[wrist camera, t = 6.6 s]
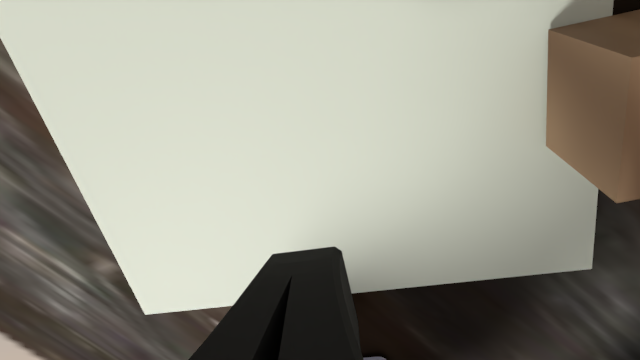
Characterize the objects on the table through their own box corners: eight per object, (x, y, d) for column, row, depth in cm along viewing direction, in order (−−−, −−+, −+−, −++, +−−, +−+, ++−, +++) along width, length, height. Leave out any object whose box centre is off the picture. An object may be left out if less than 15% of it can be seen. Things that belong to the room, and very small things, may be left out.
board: (581, 253, 19) (591, 268, 19) (153, 300, 23) (145, 314, 22) (613, -223, 12) (632, -235, 11) (-22, -50, 16) (-45, -49, 15)
